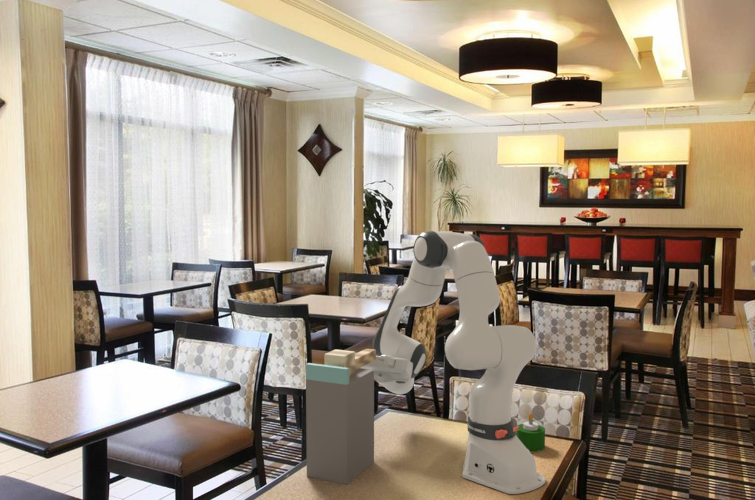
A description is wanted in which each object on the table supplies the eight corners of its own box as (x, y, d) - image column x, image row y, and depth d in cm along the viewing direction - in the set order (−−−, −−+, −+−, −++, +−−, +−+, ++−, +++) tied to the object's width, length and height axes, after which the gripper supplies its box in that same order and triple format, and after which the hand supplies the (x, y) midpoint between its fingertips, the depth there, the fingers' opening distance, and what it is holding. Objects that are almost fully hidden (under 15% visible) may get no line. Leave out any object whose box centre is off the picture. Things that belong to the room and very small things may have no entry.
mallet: (361, 358, 192) (361, 338, 192) (380, 360, 189) (380, 340, 189) (324, 376, 172) (324, 354, 172) (344, 379, 170) (344, 356, 169)
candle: (510, 443, 194) (510, 410, 194) (533, 439, 198) (533, 407, 197) (527, 453, 187) (527, 419, 186) (550, 449, 190) (551, 415, 189)
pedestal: (336, 454, 186) (335, 351, 184) (374, 461, 181) (373, 355, 178) (306, 476, 171) (305, 364, 169) (347, 484, 166) (346, 369, 164)
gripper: (358, 357, 206) (339, 342, 195) (418, 363, 197) (402, 349, 186) (353, 376, 204) (334, 363, 192) (414, 384, 195) (398, 370, 183)
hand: (368, 356), depth 189 cm, fingers open, 8 cm apart
